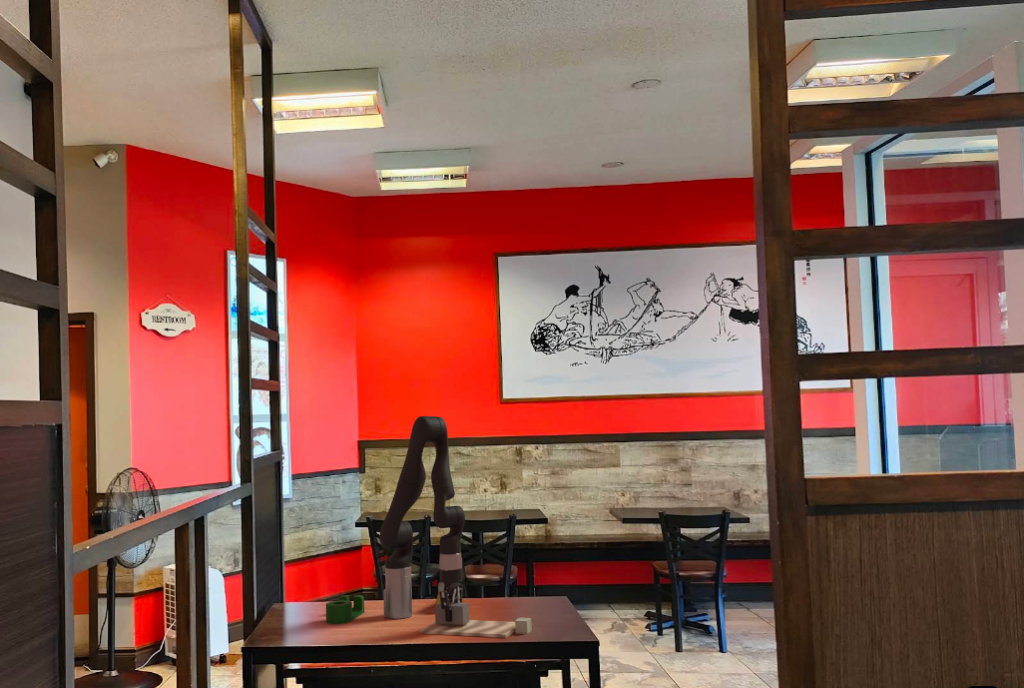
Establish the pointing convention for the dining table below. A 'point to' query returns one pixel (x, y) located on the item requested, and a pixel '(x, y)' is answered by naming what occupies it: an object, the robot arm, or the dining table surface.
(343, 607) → the green bracket
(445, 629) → the plywood board
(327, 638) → the dining table surface
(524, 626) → the wood offcut
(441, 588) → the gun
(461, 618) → the block
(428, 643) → the dining table surface
